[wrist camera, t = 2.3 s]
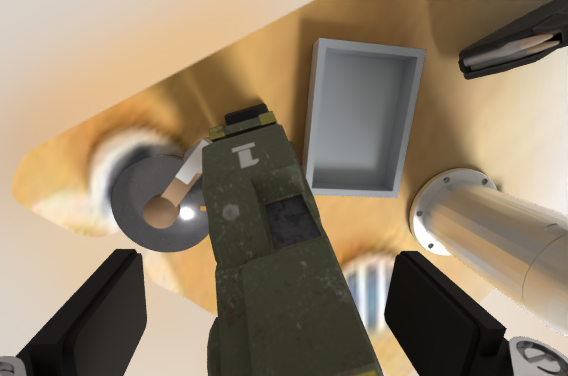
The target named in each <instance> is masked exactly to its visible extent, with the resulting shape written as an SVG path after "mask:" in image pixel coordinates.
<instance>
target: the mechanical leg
mask: <svg viewBox="0 0 568 376" xmlns="http://www.w3.org/2000/svg"><path fill="white" fill-rule="evenodd" d="M225 120H226V125H227V126H225V127H224V126H223V125H222V126H218V127H215V128H211V129H209V133H210V141H212V142H213V143H211V144H209V145H207V146H204V147H203V148H202V188H203V198H204V202H205V206H206V210H207V214H208V225H209V236H210V240H211V244H212V248H213V252H214V256H215V260H216V262H217V263H218V264H217V266H216V271H215V279H216V295H217V310H218V317H216V319H215V321H214V323H213V325H212V327H211V330H210V333H209V339H208V346H207V370H208V376H384V375H383V372H382V369H381V367H380V364H379V362H378V359H377V357H376V354H375V352H374V349H373V347H372V344H371V342H370V339H369V337H368V334H367V332H366V330H365V327H364V325H363V322H362V320H361V317H360V315H359V312H358V310H357V307H356V305H355V302H354V300H353V298H352V295H351V293H350V290H349V288H348V285H347V283H346V280H345V278H344V275H343V273H342V270H341V268H340V266H339V263H338V261H337V258H336V256H335V253H334V251H333V248H332V246H331V243H330V241H329V238H328V237H327V235H326V233H325V231H324V229H323V227H322V224H321V219H320V215H319V211H318V208H317V205H316V202H315V199H314V196H313V194H312V191H311V189H310V186H309V184H308V182H307V179H306V177H305V174H304V172H303V169H302V167H301V164H300V162H299V159H298V157H297V154H296V152H295V149H294V147H293V144H292V142H289V141H288V139H287V136H286V134H285V132H284V129H283V127H282V125H278V124H277V121H276V119H275V116H274V114H273V112H272V111H270V112H269V111H268V108H267V106H266V105H265V104H260V105H257V106H254V107H250V108H247V109H243V110H240V111H236V112H233V113H229V114H226V115H225Z"/></svg>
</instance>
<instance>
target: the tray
mask: <svg viewBox="0 0 568 376" xmlns="http://www.w3.org/2000/svg"><path fill="white" fill-rule="evenodd" d="M425 53H426V49H418V48H409V47H400V46H390V45H381V44H372V43H363V42H353V41H344V40H335V39H325V38H319V39H318V40H317V41H316V42H315V43H314V44H313V49H312V60H311V71H310V82H309V93H308V104H307V115H306V126H305V137H304V148H303V159H302V169H303V172H304V174H305V177H306V179H307V182H308V184H309V186H310V189H311V191H312V194H313V195H329V196H357V197H384V198H398V193H399V188H400V183H401V177H402V172H403V167H404V162H405V157H406V152H407V146H408V141H409V136H410V131H411V126H412V121H413V115H414V110H415V105H416V100H417V95H418V90H419V84H420V79H421V74H422V69H423V64H424V59H425Z"/></svg>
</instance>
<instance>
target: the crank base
mask: <svg viewBox="0 0 568 376" xmlns="http://www.w3.org/2000/svg"><path fill="white" fill-rule="evenodd" d="M183 165H184V160H183V158H181V157H178V156H173V155H155V156H151V157H147V158H144V159H142V160H140V161H138V162H136V163H134V164H132V165H131V166H129V167H128V168H127V169H126V170H124V171H123V172H122V174H121V175H120V176H119V177H118V179H117V180H116V183H115V185H114V187H113V191H112V196H111V207H112V212H113V215H114V218H115V220H116V222H117V224H118V226H119V227H120V229H121V230H122V231H123V232H124V233H125V235H127V236H128V237H129V238H130V239H131V240H132V241H134V242H135V243H137V244H138V245H140V246H142V247H145V248H147V249H150V250H153V251H158V252H178V251H183V250H186V249H189V248H191V247H193V246H195V245H197V244H198V243H199V242H201V241H202V240H203V239H204V238H205V237H206V236H207V235H208V234H209V225H208V214H207V210H206V206H205V202H204V198H203V188H202V174H201V175H200V176H199V178H198V179H197V180H196V182H195V183H194V184H193V186H192V187H191V188H190V190H189V191H188V192H187V194H186V195H185V196H184V198H183V199H182V200H181V202H180V203H179V205H180V214H179V216H178V217H177V219H176V220H175V222H174V223H173V224H172V225H171V226H169V227H167V228H162V229H161V228H155V227H152V226H151V225H149V224H148V223H147V222H146V221H145V219H144V217H143V208H144V206H145V204H146V203H147V202H148V201H149V200H150V199H151V198H153V197H154V196H155V195H158V194H163V193H164V192H165V190H166V189H167V188H168V186H169V185H170V183H171V182H172V181H173V179H174V178H175V176H176V175H177V173H178V172H179V171H180V169H181V168H182V167H183Z"/></svg>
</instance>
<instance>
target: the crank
mask: <svg viewBox="0 0 568 376" xmlns="http://www.w3.org/2000/svg"><path fill="white" fill-rule="evenodd" d="M211 143H213V142H212V141H210V137H206V138H204V139H202V140H200V141H199V142H198V143H196V144H195V145H193V146H192V147H190V148H189V149H188V150H187V151H186V152H185V154H184V158H183V160H184V165H183V167H182V168H181V169H180V171H179V172H178V173H177V175H176V176H175V178H174V179H173V181H172V182H171V183H170V185H169V186H168V188H167V189H166V190H165V192H164V193H163V194H158V195H155V196H154V197H153V198H151V199H150V200H149V201H148V202H147V203H146V204H145V206H144V208H143V217H144V219H145V221H146V222H147V223H148V224H149V225H151V226H152V227H155V228H161V229H162V228H167V227H169V226H171V225H172V224H173V223H174V222H175V220H176V219H177V217H178V216H179V214H180V205H179V203H180V202H181V200H182V199H183V198H184V196H185V195H186V194H187V192H188V191H189V190H190V188H191V187H192V186H193V184H194V183H195V182H196V180H197V179H198V178H199V176H200V175H201V174H202V148H203V147H204V146H207V145H209V144H211Z"/></svg>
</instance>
